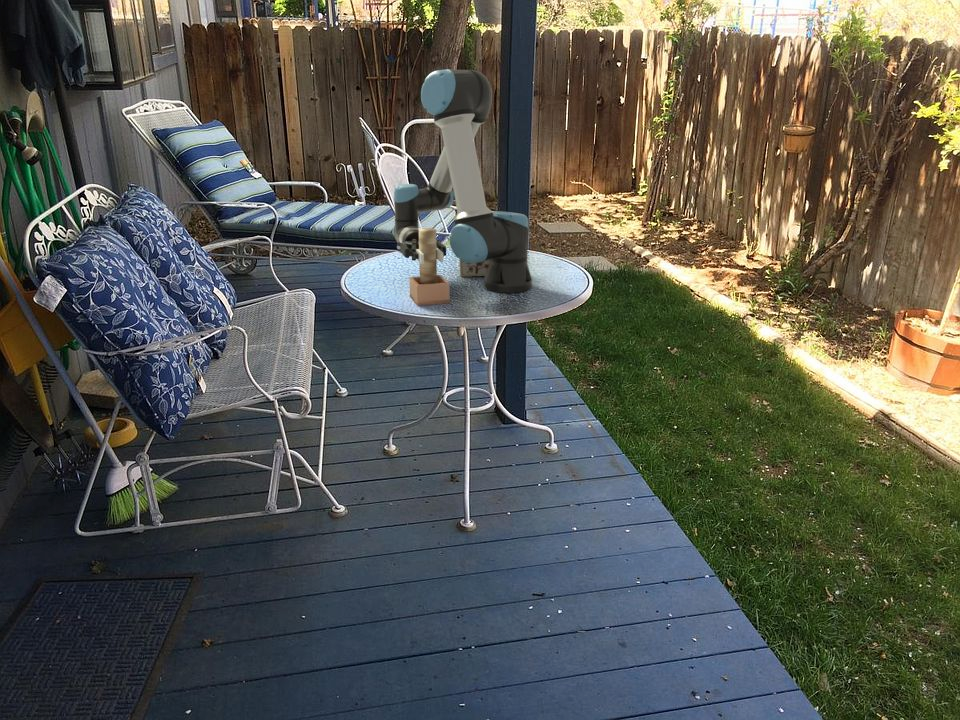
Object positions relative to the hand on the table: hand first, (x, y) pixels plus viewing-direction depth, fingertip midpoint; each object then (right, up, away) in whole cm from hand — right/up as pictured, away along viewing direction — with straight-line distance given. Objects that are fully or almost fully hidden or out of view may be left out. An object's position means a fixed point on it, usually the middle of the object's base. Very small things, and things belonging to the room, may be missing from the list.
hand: (432, 258), depth 211 cm
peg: (-2, -7, +8) cm, 10 cm away
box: (-1, -11, +9) cm, 14 cm away
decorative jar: (+13, 0, +39) cm, 41 cm away
